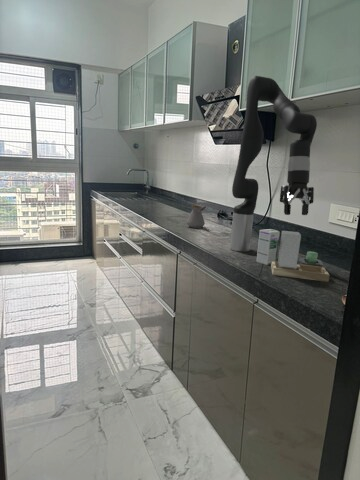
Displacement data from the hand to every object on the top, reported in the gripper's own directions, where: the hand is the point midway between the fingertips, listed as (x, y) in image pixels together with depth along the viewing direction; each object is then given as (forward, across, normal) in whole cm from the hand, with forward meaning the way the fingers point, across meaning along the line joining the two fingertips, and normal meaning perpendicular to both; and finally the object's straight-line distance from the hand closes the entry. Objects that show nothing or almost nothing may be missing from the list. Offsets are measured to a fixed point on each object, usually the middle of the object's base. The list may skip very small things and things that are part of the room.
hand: (296, 214), depth 130 cm
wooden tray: (+23, 0, +2) cm, 23 cm away
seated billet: (+21, +3, 0) cm, 22 cm away
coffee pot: (+11, -10, -89) cm, 90 cm away
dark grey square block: (+22, -12, -3) cm, 25 cm away
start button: (+19, -12, -2) cm, 22 cm away
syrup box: (+21, +1, -14) cm, 25 cm away
